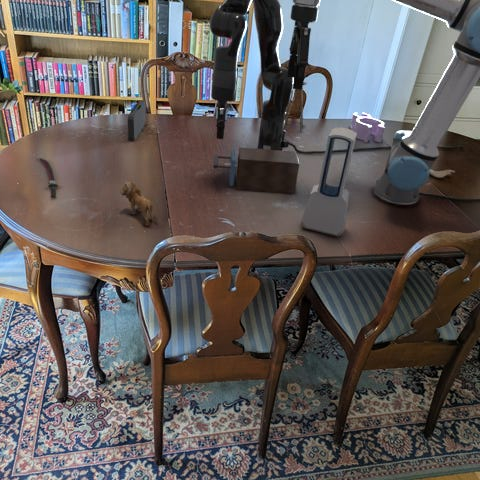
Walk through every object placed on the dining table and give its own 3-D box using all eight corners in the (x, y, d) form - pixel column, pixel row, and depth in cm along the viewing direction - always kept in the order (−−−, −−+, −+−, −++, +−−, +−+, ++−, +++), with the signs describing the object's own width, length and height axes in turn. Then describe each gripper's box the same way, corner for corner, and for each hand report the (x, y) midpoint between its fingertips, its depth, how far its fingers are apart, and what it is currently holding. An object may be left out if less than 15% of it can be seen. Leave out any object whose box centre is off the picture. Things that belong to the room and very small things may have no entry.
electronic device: (344, 227, 141) (368, 132, 125) (340, 239, 135) (365, 141, 119) (304, 217, 144) (322, 123, 128) (299, 229, 138) (317, 131, 122)
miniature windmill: (301, 132, 210) (312, 62, 194) (282, 129, 211) (292, 60, 195) (302, 125, 218) (314, 58, 201) (285, 123, 219) (294, 56, 202)
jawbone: (446, 183, 178) (448, 178, 177) (396, 166, 188) (397, 162, 187) (454, 175, 183) (456, 170, 182) (405, 159, 194) (406, 154, 193)
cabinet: (236, 189, 157) (239, 158, 151) (236, 176, 165) (239, 147, 159) (294, 193, 158) (299, 163, 152) (291, 180, 166) (295, 151, 160)
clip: (343, 126, 223) (346, 112, 219) (367, 127, 225) (371, 113, 221) (360, 142, 206) (364, 127, 202) (386, 142, 209) (390, 127, 205)
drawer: (212, 184, 156) (213, 159, 151) (213, 173, 164) (214, 148, 159) (283, 189, 158) (287, 164, 153) (281, 178, 165) (285, 154, 160)
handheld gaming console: (139, 121, 202) (139, 98, 197) (146, 122, 202) (145, 99, 197) (127, 140, 183) (126, 115, 178) (134, 141, 183) (133, 116, 178)
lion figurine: (118, 210, 138) (116, 182, 133) (132, 204, 141) (131, 177, 137) (151, 229, 130) (150, 201, 126) (165, 223, 134) (165, 195, 129)
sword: (61, 197, 141) (61, 193, 140) (50, 198, 139) (50, 194, 139) (49, 160, 164) (48, 156, 163) (39, 160, 163) (39, 157, 162)
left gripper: (213, 76, 149) (210, 125, 158) (210, 88, 137) (207, 140, 146) (236, 78, 149) (232, 127, 158) (235, 90, 137) (231, 143, 146)
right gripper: (286, -1, 140) (277, 71, 152) (298, 9, 119) (287, 93, 131) (311, 1, 141) (300, 73, 152) (327, 12, 120) (313, 95, 131)
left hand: (220, 133), depth 152 cm, fingers open, 8 cm apart
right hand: (294, 83), depth 142 cm, fingers open, 13 cm apart
